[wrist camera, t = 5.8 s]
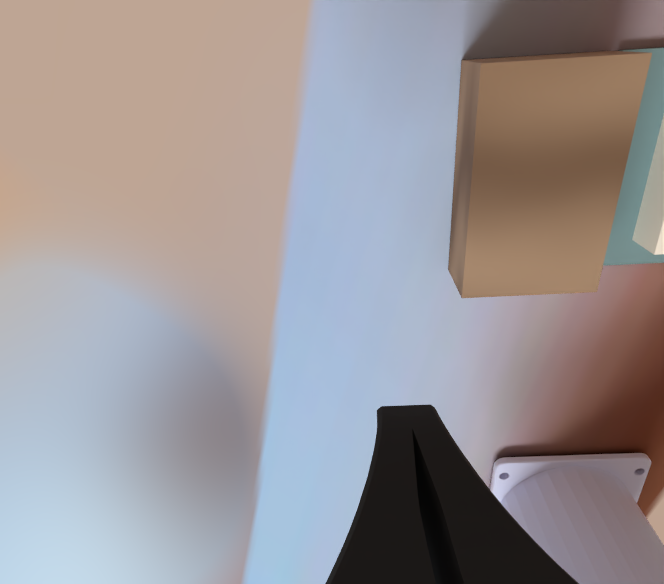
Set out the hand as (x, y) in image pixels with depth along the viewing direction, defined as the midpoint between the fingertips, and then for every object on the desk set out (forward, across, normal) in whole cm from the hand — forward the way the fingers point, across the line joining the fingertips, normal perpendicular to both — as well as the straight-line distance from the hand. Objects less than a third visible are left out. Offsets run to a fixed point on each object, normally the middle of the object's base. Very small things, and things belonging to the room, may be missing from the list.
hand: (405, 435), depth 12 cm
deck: (+9, -6, -4) cm, 12 cm away
